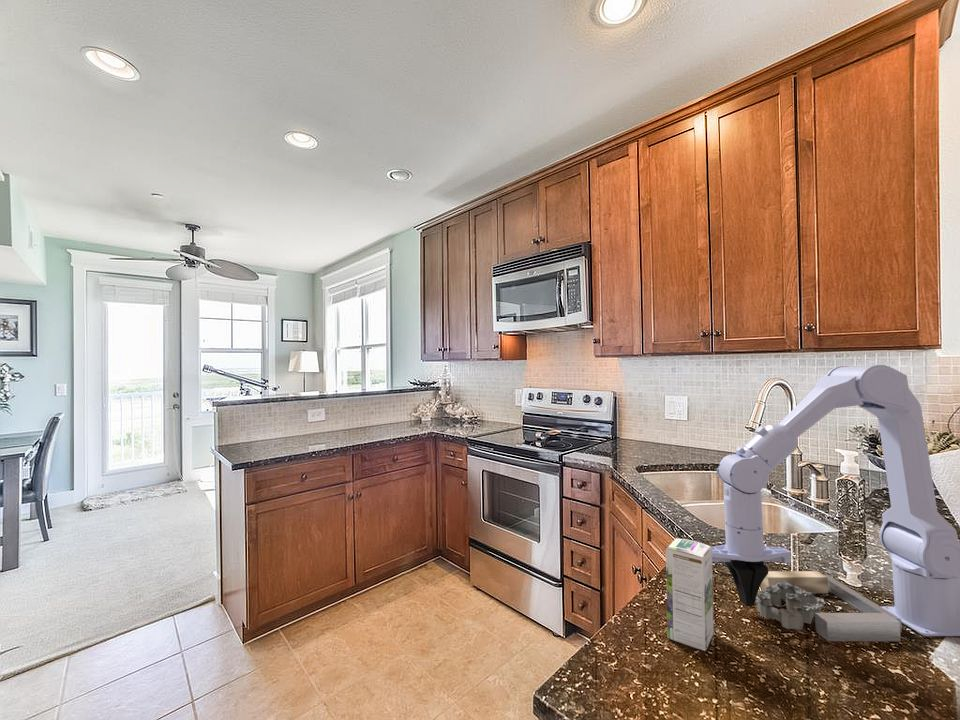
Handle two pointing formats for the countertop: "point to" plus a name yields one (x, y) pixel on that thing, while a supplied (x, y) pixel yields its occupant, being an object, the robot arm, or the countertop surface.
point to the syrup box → (689, 593)
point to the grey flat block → (857, 619)
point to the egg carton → (788, 605)
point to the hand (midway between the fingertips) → (746, 603)
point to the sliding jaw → (798, 580)
